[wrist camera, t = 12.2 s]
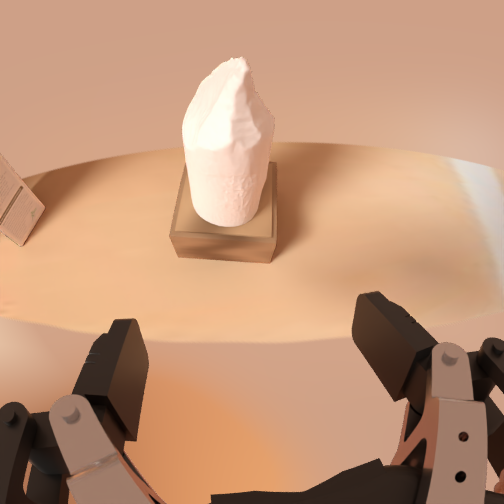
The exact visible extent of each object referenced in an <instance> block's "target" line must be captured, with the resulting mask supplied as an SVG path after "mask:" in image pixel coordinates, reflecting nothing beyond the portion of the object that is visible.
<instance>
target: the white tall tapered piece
mask: <svg viewBox="0 0 504 504" xmlns="http://www.w3.org/2000/svg"><path fill="white" fill-rule="evenodd" d="M274 121H275V118H274V117H273V115H272V114H271V113H270V111H269V110H268V109H267V107H266V106H265V105H264V103H263V101H262V100H261V98H260V96H259V95H258V93H257V92H256V91H255V88H254V83H253V78H252V75H251V69H250V66H249V63H248V62H247V60H246V59H245V58H244V57H240V58H236V59H234V58H233V57H232V58H231V59H230V60H229V61H226V62H223V63H221V64H220V65H219V66H218V67H217V68H216V69H214V70H213V71H212V74H210V75H209V76H207V77H206V78H205V79H204V80H203V81H202V82H201V83H200V86H199V88H198V90H197V92H196V94H195V96H194V98H193V99H192V102H191V103H190V104H189V107H188V109H187V111H186V113H185V117H184V120H183V125H182V134H183V135H182V136H183V143H184V151H185V159H186V166H187V172H188V178H189V184H190V191H191V198H192V203H193V206H194V209H195V210H196V212H197V213H198V215H199V216H200V217H201V218H203V219H204V220H206V221H208V222H209V223H212V224H215V225H218V226H223V227H235V226H240V225H243V224H245V223H247V222H248V221H250V220H251V219H252V218H253V216H254V215H255V214H256V212H257V209H258V205H259V201H260V196H261V192H262V189H263V186H264V183H265V181H266V177H267V170H268V164H269V156H270V151H271V145H272V139H273V133H274Z"/></svg>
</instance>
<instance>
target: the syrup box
mask: <svg viewBox="0 0 504 504" xmlns="http://www.w3.org/2000/svg"><path fill="white" fill-rule="evenodd" d="M44 210H45V206H44V205H43V204H42V203H41V202H40V200H39V199H38V198H37V197H36V196H35V195H34V193H33V192H32V191H31V190H30V189H29V187H28V186H27V185H26V184H25V183H24V182H23V180H22V179H21V178H20V177H19V176H18V174H17V173H16V172H15V171H14V170H13V168H12V167H11V166H10V165H9V163H8V162H7V161H6V160H5V158H4V157H3V156H2V154H1V153H0V231H1V232H2V233H3V234H4V235H6V236H7V237H8V238H10V239H11V240H12V241H13V242H15V243H16V244H17V245H19V246H20V247H21V246H22V245H23V244H24V242H25V241H26V239H27V238H28V236H29V234H30V233H31V231H32V229H33V228H34V226H35V224H36V223H37V221H38V219H39V218H40V216H41V215H42V213H43V211H44Z"/></svg>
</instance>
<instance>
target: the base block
mask: <svg viewBox="0 0 504 504" xmlns="http://www.w3.org/2000/svg"><path fill="white" fill-rule="evenodd" d="M169 237H170V239H171V241H172V244H173V246H174V249H175V251H176V253H177V255H178V257H183V258H197V259H211V260H225V261H240V262H255V263H270V261H271V258H272V255H273V253H274V250H275V247H276V244H277V174H276V163H275V162H269V164H268V170H267V177H266V181H265V183H264V186H263V189H262V192H261V196H260V201H259V205H258V209H257V212H256V214H255V215H254V216H253V218H252V219H251V220H250V221H248V222H247V223H245V224H243V225H240V226H235V227H223V226H218V225H215V224H212V223H209V222H208V221H206V220H204V219H203V218H201V217H200V216H199V215H198V213H197V212H196V210H195V209H194V206H193V203H192V198H191V191H190V184H189V178H188V172H187V166H186V163H185V167H184V171H183V175H182V179H181V183H180V188H179V192H178V197H177V201H176V206H175V210H174V215H173V220H172V225H171V230H170V235H169Z"/></svg>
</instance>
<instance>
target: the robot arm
mask: <svg viewBox="0 0 504 504" xmlns="http://www.w3.org/2000/svg"><path fill="white" fill-rule="evenodd" d="M352 337H353V340H354V342H355V344H356V345H357V347H358V348H359V350H360V351H361V353H362V354H363V355H364V357H365V359H366V360H367V362H368V363H369V365H370V366H371V367H372V369H373V370H374V372H375V373H376V375H377V376H378V378H379V379H380V381H381V382H382V384H383V385H384V387H385V388H386V390H387V391H388V393H389V394H390V396H391V397H392V399H393V401H394V402H396V401H398V400H401V399H403V398H405V397H406V398H407V399H408V403H407V405H406V408H405V415H404V421H403V427H402V431H401V436H400V442H399V445H398V449H397V452H396V454H395V456H394V458H393V460H392V462H391V464H390V465H386V466H383V464H382V462H381V461H380V459H379V458H378V459H376V460H373V461H371V462H368V463H365V464H363V465H360V466H357V467H355V468H351V469H348V470H346V471H342V472H341V473H339V474H337V475H336V476H334V477H332V478H330V479H328V480H326V481H325V482H323V483H321V484H319V485H317V486H315V487H313V488H311V489H309V490H307V491H304V492H265V491H250V492H242V493H230V494H215V495H211V503H209V504H504V415H503V414H502V412H501V411H500V410H499V408H498V407H497V406H496V404H495V403H494V402H493V401H492V399H491V398H490V397H489V394H490V392H491V391H492V390H493V388H494V386H495V385H497V386H498V387H499V389H500V390H501V391H502V392H503V394H504V341H502V340H501V339H498V338H487V339H485V340H484V342H483V344H482V346H481V348H480V350H479V351H476V352H468V353H466V352H465V351H464V349H462V348H461V347H460V346H458V345H456V344H453V343H448V342H444V343H438V342H437V341H436V340H435V339H434V338H433V337H432V336H431V335H430V334H429V333H428V332H427V331H426V330H425V329H424V328H423V327H422V326H421V325H420V324H419V323H416V320H415V319H414V318H413V317H412V316H410V314H409V313H408V312H407V311H406V310H405V309H403V308H402V307H401V306H399V305H397V304H395V303H393V302H391V301H389V300H388V299H387V298H386V297H385V296H383V295H382V294H381V293H380V292H379V291H375V292H369V293H364V294H360V295H359V296H358V298H357V302H356V308H355V314H354V319H353V325H352ZM148 366H149V361H148V354H147V350H146V347H145V344H144V341H143V338H142V335H141V332H140V329H139V325H138V322H137V320H136V319H115V320H114V321H113V323H112V325H111V328H110V330H109V332H108V333H103V334H102V335H101V336H100V337H99V338H98V339H97V340H96V341H95V342H94V343H93V345H92V347H91V350H90V352H89V355H88V356H87V358H86V361H85V363H84V365H83V367H82V370H81V372H80V375H79V377H78V379H77V382H76V384H75V387H74V389H73V392H72V394H71V395H66V396H63V397H61V398H60V399H58V400H57V401H56V402H55V403H54V404H53V405H52V407H51V409H50V411H48V412H41V413H32V414H30V413H29V412H28V411H27V409H26V408H25V407H24V405H22V404H21V403H19V402H10V403H7V404H5V405H4V406H3V407H2V408H1V409H0V504H68V497H69V489H70V491H71V493H72V495H73V497H74V499H75V501H76V503H77V504H166V503H165V502H164V501H163V500H162V499H161V498H160V497H159V496H158V495H157V493H156V492H155V491H154V490H153V489H152V487H151V486H150V485H149V484H148V482H147V481H146V480H145V479H144V477H143V476H142V475H141V474H140V472H139V471H138V469H137V468H136V467H135V465H134V464H133V462H132V461H131V460H130V458H129V457H128V455H127V454H126V452H125V451H124V443H125V441H137V433H138V426H139V419H140V413H141V407H142V401H143V395H144V389H145V384H146V378H147V372H148V368H149V367H148ZM487 458H488V460H489V462H490V463H491V465H492V467H493V469H494V470H495V472H496V474H497V476H498V477H499V482H498V483H497V484H496V485H495V487H494V492H492V491H488V490H485V488H486V476H487ZM28 461H29V462H30V463H31V464H32V467H31V472H30V476H29V481H28V486H27V493H26V495H25V493H24V490H23V482H24V477H25V472H26V468H27V463H28Z"/></svg>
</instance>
